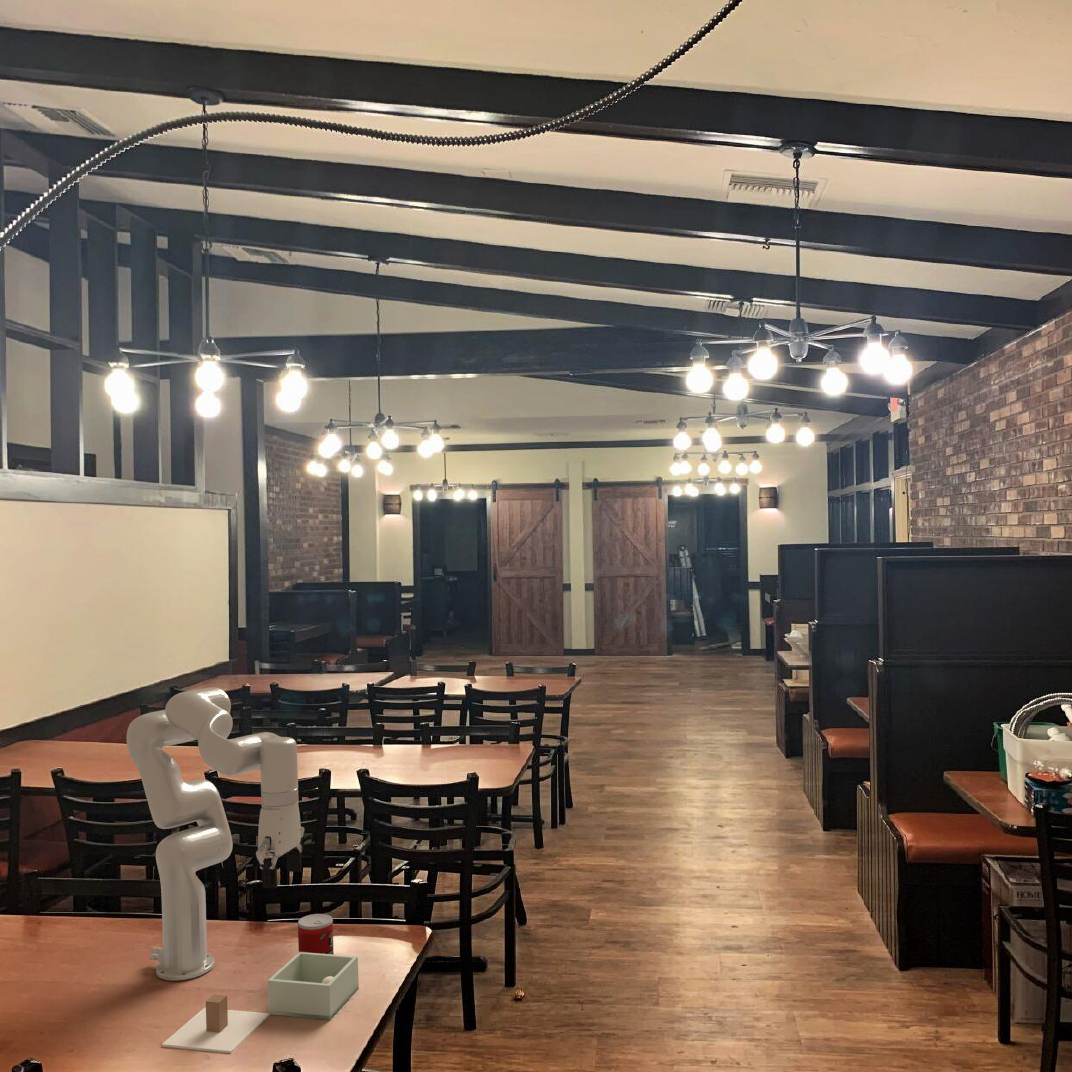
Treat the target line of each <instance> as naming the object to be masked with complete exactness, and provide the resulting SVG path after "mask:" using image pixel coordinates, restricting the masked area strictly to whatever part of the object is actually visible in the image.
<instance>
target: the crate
mask: <svg viewBox="0 0 1072 1072" xmlns="http://www.w3.org/2000/svg"><path fill="white" fill-rule="evenodd" d="M328 976H332V977H334V978H333V979H332V980H331V981H330V982H329V983H328V984H325V983H322V981H323V979H324V978H326V977H328ZM359 985H360V984H359V956H354V955H343V954H334V955H332V954H319V953H307V952H299V951H298V952H297V953H296V954H295V955H294V956H293V957H292V958H291V959H289V961H287V962H286V963H285V964H284V965H283V966H282V967H280V969H279V970H277V971H276V972H275V973H274V974H273V975H272V976H271V977H270V978H269V979H267V1003H268V1004H267V1013H269V1015H273V1016H275V1015H276V1016H284V1017H293V1018H295V1017H296V1018H303V1019H304V1018H306V1019H316V1020H326V1021H332V1019H333V1018H334V1017H335V1016H336V1014H337V1013H338V1012H339V1011H340V1010H341V1009H342V1008H343V1007H344V1006H345V1005H346V1004H347V1003H348V1001H349V1000H350V999H351V998H352V997H353V995H355V994H356V993H357V992H358V990H359V989H360V988H359Z"/></svg>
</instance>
